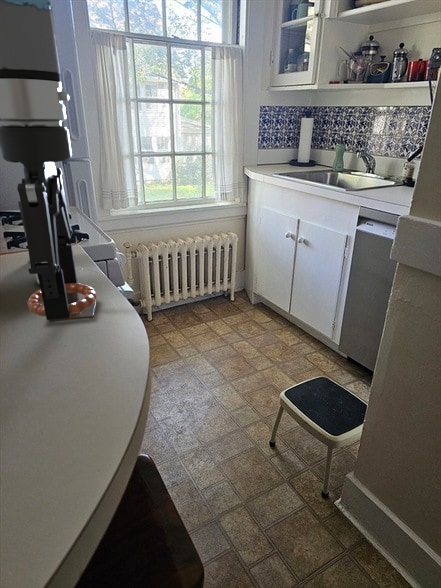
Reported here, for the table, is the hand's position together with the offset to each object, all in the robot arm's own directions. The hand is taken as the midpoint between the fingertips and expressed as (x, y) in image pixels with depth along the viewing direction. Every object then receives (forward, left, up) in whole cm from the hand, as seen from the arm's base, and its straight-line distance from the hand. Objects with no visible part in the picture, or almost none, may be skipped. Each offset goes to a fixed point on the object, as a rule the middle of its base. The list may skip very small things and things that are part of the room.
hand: (63, 301), depth 54 cm
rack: (-22, -3, -13) cm, 25 cm away
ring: (0, 0, 0) cm, 0 cm away
